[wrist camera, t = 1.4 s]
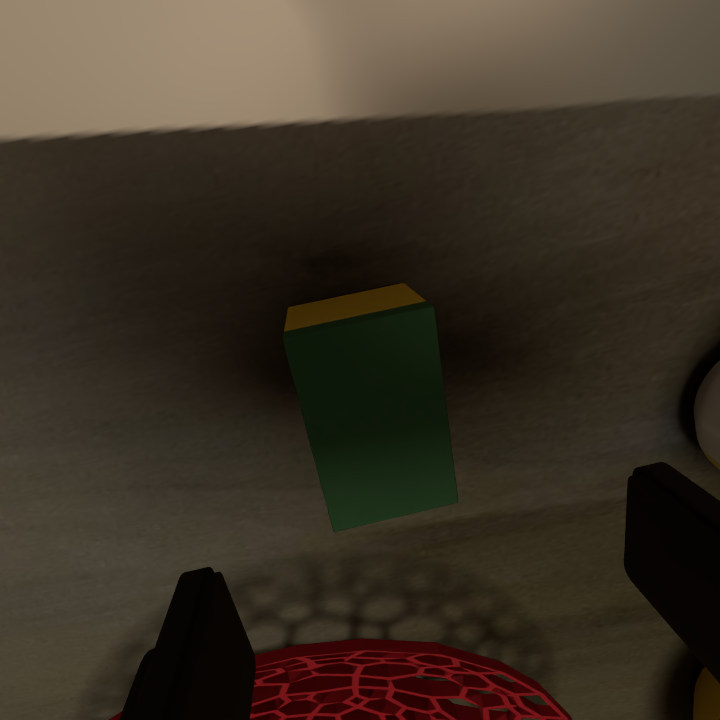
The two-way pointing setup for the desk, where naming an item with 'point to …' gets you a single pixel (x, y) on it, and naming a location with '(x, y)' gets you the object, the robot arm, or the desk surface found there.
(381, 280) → the desk surface
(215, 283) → the desk surface
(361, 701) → the bowl
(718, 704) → the vase
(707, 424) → the mug
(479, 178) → the desk surface
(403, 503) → the sponge
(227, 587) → the robot arm
